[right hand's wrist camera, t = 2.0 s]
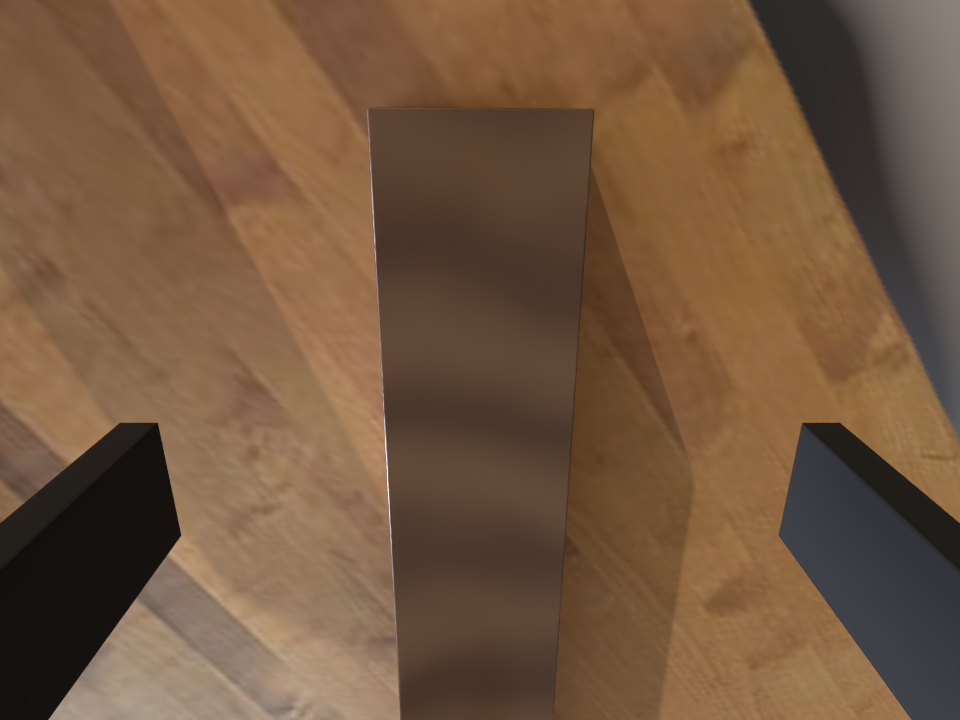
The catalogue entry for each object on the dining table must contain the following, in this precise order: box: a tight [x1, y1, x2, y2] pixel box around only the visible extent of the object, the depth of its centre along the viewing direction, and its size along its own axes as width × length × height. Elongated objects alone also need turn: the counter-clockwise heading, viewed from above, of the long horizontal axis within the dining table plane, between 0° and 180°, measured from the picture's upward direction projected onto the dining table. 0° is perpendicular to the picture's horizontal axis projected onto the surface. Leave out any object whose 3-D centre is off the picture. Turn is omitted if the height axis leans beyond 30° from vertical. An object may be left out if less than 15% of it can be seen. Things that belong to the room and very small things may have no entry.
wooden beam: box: [367, 107, 594, 720], centre depth 44 cm, size 70×10×6 cm, turn 0°
